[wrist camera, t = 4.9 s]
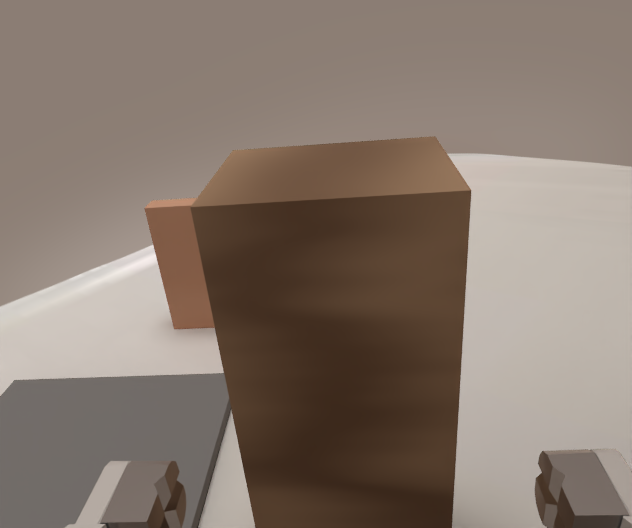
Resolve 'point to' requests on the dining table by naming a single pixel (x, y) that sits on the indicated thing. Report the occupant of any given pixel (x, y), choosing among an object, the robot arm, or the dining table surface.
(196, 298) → the tile
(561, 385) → the dining table surface
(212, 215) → the tall wooden block
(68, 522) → the rest mat
